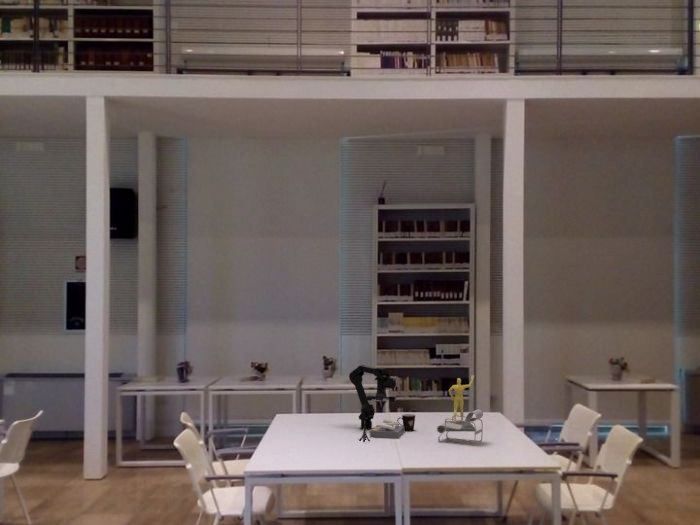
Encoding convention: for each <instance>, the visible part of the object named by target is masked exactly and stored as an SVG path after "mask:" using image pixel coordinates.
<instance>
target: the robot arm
mask: <svg viewBox="0 0 700 525" xmlns="http://www.w3.org/2000/svg"><path fill="white" fill-rule="evenodd" d="M366 373H367V374H372V375H374V377H375V378H374V380H375V381H376V393H375V395H373V394H368V395H366V392H365V388H364V385H363V376H364V375H365V374H366ZM348 378H349V381H350V382H351V384H353V386H354V387H355V390H356V393H357V396H358V399H359V403H360V405H361V406H360V414H359V415H358V420H360V430H364V421H365V429H366V430H372V429H373V421H372V420H373V419H374V417H375V414H376V413H375V411H376V410H375V408H374V405H373V404H370V403H369V401H372V400H375V401H374V402H376V403H377V404H378V407H379V410H380V412H383V411H384V407H385V404H386V403H387V402H388V401H389V402H396V401H397V395H389V396H388V394H387V389H391V390H393V389H395V388H396V386H397V385H396V384H397V383H396V381H395V380H394V377H391V375H390V373H389V371H388V370H387V368H386V367H372V366H368V365H364V364H362V365H358V366H357V367H356V368H355V369H353V370H352V371H351V372H350V373H349V376H348Z"/></svg>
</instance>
